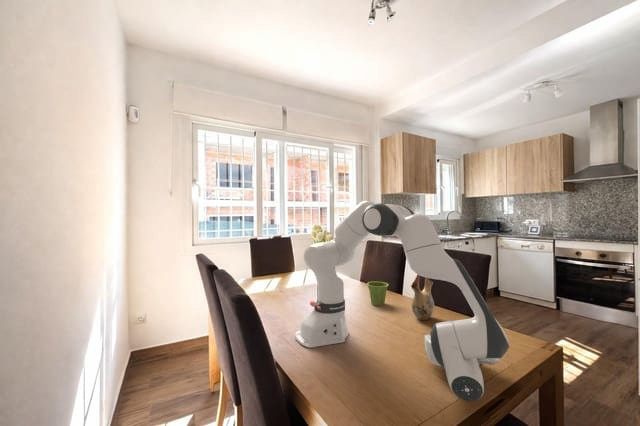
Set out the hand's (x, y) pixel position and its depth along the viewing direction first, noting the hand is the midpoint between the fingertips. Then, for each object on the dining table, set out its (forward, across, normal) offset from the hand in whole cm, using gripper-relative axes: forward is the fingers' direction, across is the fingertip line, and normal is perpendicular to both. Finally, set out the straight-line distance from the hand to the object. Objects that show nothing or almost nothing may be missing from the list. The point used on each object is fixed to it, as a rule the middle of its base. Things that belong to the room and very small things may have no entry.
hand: (455, 337), depth 92 cm
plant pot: (+45, +35, +7) cm, 57 cm away
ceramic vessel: (+31, +11, +7) cm, 34 cm away
